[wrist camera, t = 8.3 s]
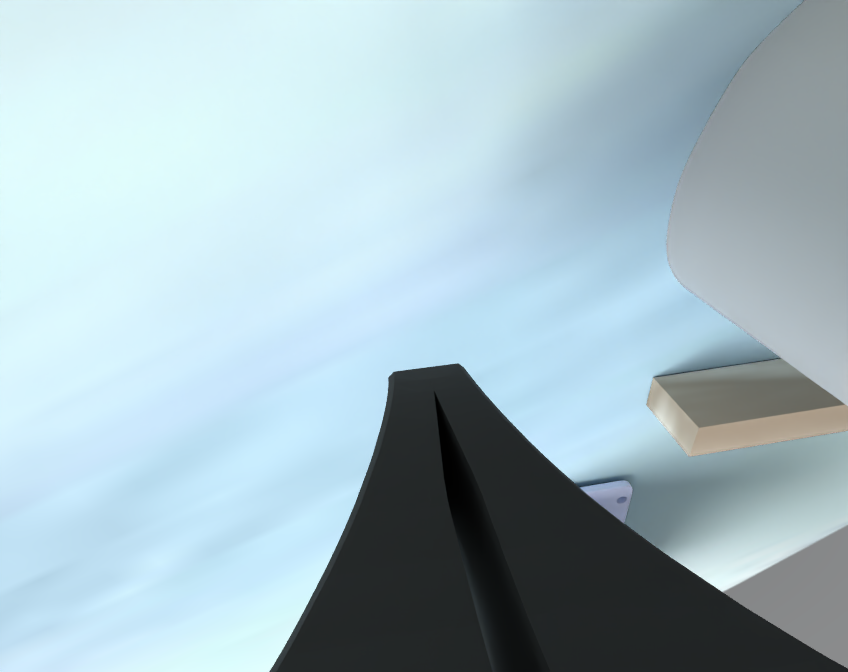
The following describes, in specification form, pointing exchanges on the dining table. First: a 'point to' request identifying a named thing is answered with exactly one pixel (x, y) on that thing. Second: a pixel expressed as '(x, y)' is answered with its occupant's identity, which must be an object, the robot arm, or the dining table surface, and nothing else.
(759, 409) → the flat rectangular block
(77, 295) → the dining table surface
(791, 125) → the lumpy-topped squat cylinder
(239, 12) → the dining table surface
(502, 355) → the dining table surface
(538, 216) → the dining table surface
